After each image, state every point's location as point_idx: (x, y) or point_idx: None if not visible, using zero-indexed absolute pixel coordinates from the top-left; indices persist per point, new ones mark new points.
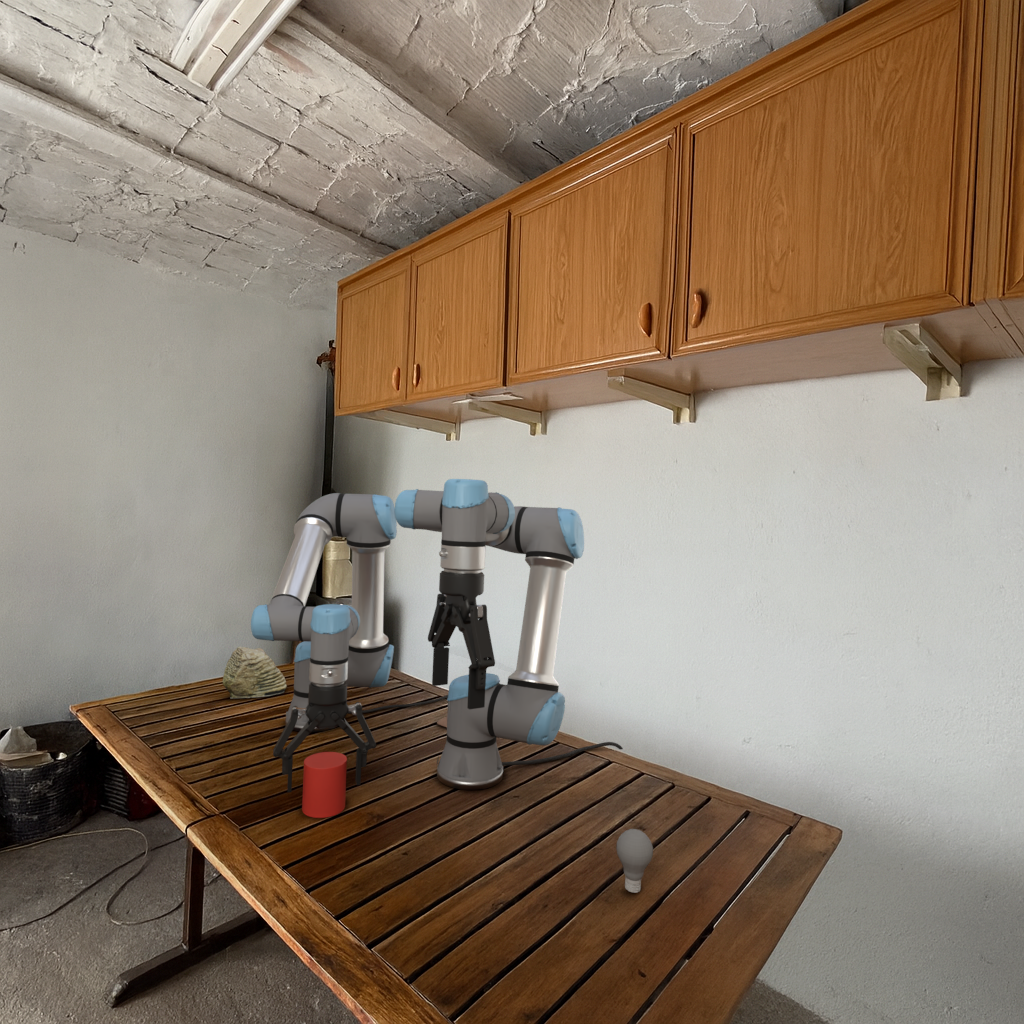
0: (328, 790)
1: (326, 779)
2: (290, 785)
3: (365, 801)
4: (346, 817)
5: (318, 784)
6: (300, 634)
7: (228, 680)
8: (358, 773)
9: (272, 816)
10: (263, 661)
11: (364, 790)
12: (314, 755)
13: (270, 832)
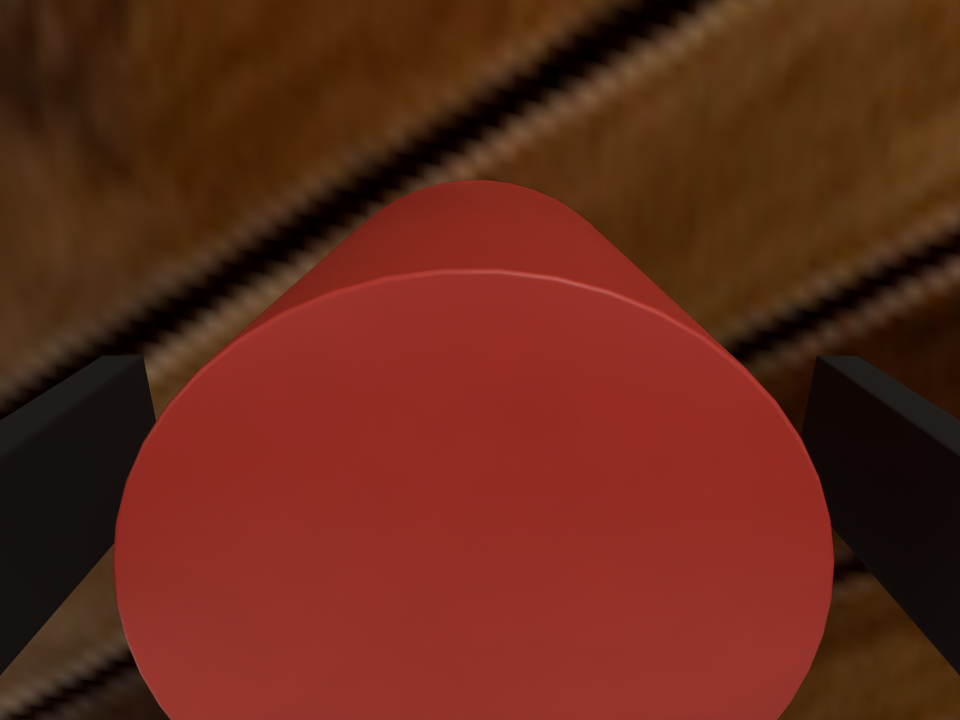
0: (444, 211)
1: (472, 234)
2: (871, 382)
3: (159, 369)
4: (302, 140)
5: (576, 237)
6: None
7: None
8: (48, 410)
9: (858, 304)
10: None
11: None
12: None
13: (924, 38)
